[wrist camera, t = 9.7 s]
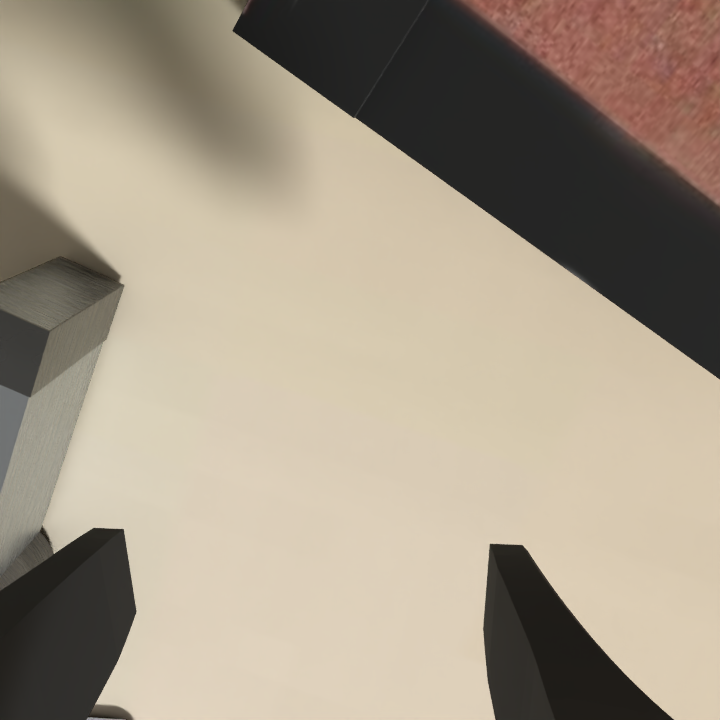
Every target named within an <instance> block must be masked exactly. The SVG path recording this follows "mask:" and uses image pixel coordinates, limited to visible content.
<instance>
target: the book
mask: <svg viewBox="0 0 720 720" xmlns="http://www.w3.org/2000/svg"><path fill="white" fill-rule="evenodd" d="M233 32H235V33H236V34H237V35H239V36H240V37H242V38H243V39H244V40H246V41H247V42H249V43H250V44H251V45H253V46H254V47H255V48H257V49H258V50H260V51H261V52H262V53H264V54H265V55H267V56H268V57H269V58H271V59H272V60H274V61H275V62H276V63H278V64H279V65H281V66H282V67H283V68H285V69H286V70H288V71H289V72H290V73H292V74H293V75H294V76H296V77H297V78H299V79H300V80H301V81H303V82H304V83H306V84H307V85H308V86H310V87H311V88H313V89H314V90H315V91H317V92H318V93H320V94H321V95H322V96H324V97H325V98H327V99H328V100H329V101H331V102H332V103H333V104H335V105H336V106H338V107H339V108H340V109H342V110H343V111H345V112H346V113H347V114H349V115H350V116H352V117H353V118H357V119H358V120H359V121H361V122H362V123H364V124H365V125H366V126H368V127H369V128H371V129H372V130H373V131H375V132H376V133H377V134H379V135H380V136H382V137H383V138H384V139H386V140H387V141H389V142H390V143H391V144H393V145H394V146H396V147H397V148H398V149H400V150H401V151H403V152H404V153H405V154H407V155H408V156H409V157H411V158H412V159H414V160H415V161H416V162H418V163H419V164H421V165H422V166H423V167H425V168H426V169H428V170H429V171H430V172H432V173H433V174H435V175H436V176H437V177H439V178H440V179H442V180H443V181H444V182H446V183H447V184H448V185H450V186H451V187H453V188H454V189H455V190H457V191H458V192H460V193H461V194H462V195H464V196H465V197H467V198H468V199H469V200H471V201H472V202H474V203H475V204H476V205H478V206H479V207H480V208H482V209H483V210H485V211H486V212H487V213H489V214H490V215H492V216H493V217H494V218H496V219H497V220H499V221H500V222H501V223H503V224H504V225H506V226H507V227H508V228H510V229H511V230H513V231H514V232H515V233H517V234H518V235H519V236H521V237H522V238H524V239H525V240H526V241H528V242H529V243H531V244H532V245H533V246H535V247H536V248H538V249H539V250H540V251H542V252H543V253H545V254H546V255H547V256H549V257H550V258H551V259H553V260H554V261H556V262H557V263H558V264H560V265H561V266H563V267H564V268H565V269H567V270H568V271H570V272H571V273H572V274H574V275H575V276H577V277H578V278H579V279H581V280H582V281H584V282H585V283H586V284H588V285H589V286H590V287H592V288H593V289H595V290H596V291H597V292H599V293H600V294H602V295H603V296H604V297H606V298H607V299H609V300H610V301H611V302H613V303H614V304H616V305H617V306H618V307H620V308H621V309H622V310H624V311H625V312H627V313H628V314H629V315H631V316H632V317H634V318H635V319H636V320H638V321H639V322H641V323H642V324H643V325H645V326H646V327H648V328H649V329H650V330H652V331H653V332H655V333H656V334H657V335H659V336H660V337H661V338H663V339H664V340H666V341H667V342H668V343H670V344H671V345H673V346H674V347H675V348H677V349H678V350H680V351H681V352H682V353H684V354H685V355H687V356H688V357H689V358H691V359H692V360H693V361H695V362H696V363H698V364H699V365H700V366H702V367H703V368H705V369H706V370H707V371H709V372H710V373H712V374H713V375H714V376H716V377H717V378H719V379H720V0H249V1H248V2H247V4H246V6H245V8H244V10H243V12H242V14H241V16H240V17H239V19H238V21H237V23H236V25H235V27H234V29H233Z"/></svg>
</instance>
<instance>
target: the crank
mask: <svg viewBox="0 0 720 720" xmlns="http://www.w3.org/2000/svg"><path fill="white" fill-rule="evenodd" d="M123 288H124V285H123V284H121V283H119V282H116V281H114V280H112V279H110V278H107V277H105V276H103V275H101V274H99V273H96V272H94V271H92V270H90V269H88V268H85V267H83V266H81V265H79V264H77V263H74V262H72V261H70V260H68V259H66V258H63V257H61V256H60V257H58V258H56V259H53V260H51V261H49V262H46V263H44V264H42V265H39V266H37V267H35V268H32V269H30V270H28V271H25V272H23V273H21V274H19V275H16V276H14V277H12V278H9V279H7V280H5V281H2V282H0V591H1V590H2V589H4V588H5V587H7V586H8V585H10V584H11V583H13V582H14V581H15V580H17V579H18V578H20V577H21V576H23V575H24V574H26V573H27V572H29V571H30V570H32V569H33V568H35V567H36V566H38V565H39V564H41V563H42V562H43V561H45V560H46V559H48V558H49V557H51V556H52V555H54V554H53V551H52V548H51V546H50V544H49V543H48V541H47V540H46V538H45V537H44V536H43V535H42V533H41V532H40V530H41V527H42V524H43V521H44V518H45V515H46V512H47V509H48V506H49V503H50V500H51V497H52V494H53V491H54V488H55V485H56V482H57V479H58V476H59V473H60V470H61V467H62V464H63V461H64V458H65V455H66V452H67V449H68V446H69V443H70V440H71V437H72V434H73V431H74V428H75V425H76V422H77V419H78V416H79V413H80V410H81V407H82V404H83V401H84V398H85V395H86V392H87V389H88V386H89V383H90V380H91V377H92V374H93V371H94V368H95V365H96V362H97V359H98V356H99V353H100V350H101V347H102V344H103V342H104V341H105V340H106V339H107V336H108V333H109V330H110V327H111V324H112V321H113V318H114V315H115V312H116V309H117V306H118V303H119V300H120V297H121V294H122V291H123Z"/></svg>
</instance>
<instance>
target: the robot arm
mask: <svg viewBox="0 0 720 720" xmlns="http://www.w3.org/2000/svg"><path fill="white" fill-rule="evenodd" d="M135 615H136V606H135V600H134V593H133V587H132V580H131V574H130V568H129V561H128V555H127V548H126V542H125V535H124V529H105V528H93V529H92V530H90V531H88V532H87V533H85V534H83V535H82V536H80V537H79V538H77V539H76V540H74V541H73V542H71V543H70V544H68V545H67V546H65V547H64V548H62V549H61V550H59V551H58V552H56V553H55V554H54V555H52V556H51V557H49V558H48V559H46V560H45V561H43V562H42V563H41V564H39V565H38V566H36V567H35V568H33V569H32V570H30V571H29V572H27V573H26V574H24V575H23V576H21V577H20V578H18V579H17V580H15V581H14V582H13V583H11V584H10V585H8V586H7V587H5V588H4V589H2V590H1V591H0V720H124V719H109V718H93V717H88V716H89V714H90V712H91V711H92V709H93V707H94V705H95V703H96V701H97V700H98V698H99V696H100V694H101V692H102V690H103V688H104V686H105V684H106V683H107V681H108V679H109V677H110V675H111V673H112V671H113V669H114V667H115V665H116V663H117V661H118V659H119V657H120V654H121V652H122V649H123V647H124V644H125V642H126V639H127V637H128V634H129V631H130V628H131V626H132V623H133V620H134V617H135ZM483 631H484V643H485V655H486V666H487V677H488V684H489V689H490V694H491V699H492V704H493V709H494V714H495V719H496V720H674V719H672V718H671V717H670V716H669V715H668V714H667V713H666V712H664V711H663V710H662V709H661V708H660V707H659V706H658V705H656V704H655V703H654V702H653V701H652V700H651V699H650V698H649V697H648V696H647V695H646V694H645V693H644V692H643V691H642V690H641V689H639V688H638V687H637V686H636V685H635V684H634V683H633V682H632V681H631V680H630V679H629V678H628V677H627V676H626V675H625V674H624V673H623V672H622V671H621V669H620V668H619V667H618V666H617V665H616V664H615V663H614V662H613V661H612V660H611V659H610V658H609V656H608V655H607V654H606V653H605V652H604V651H603V650H602V649H601V648H600V646H599V645H598V644H597V643H596V642H595V641H594V640H593V638H592V637H591V636H590V635H589V634H588V632H587V631H586V630H585V629H584V628H583V626H582V625H581V624H580V623H579V621H578V620H577V619H576V618H575V616H574V615H573V614H572V613H571V611H570V610H569V609H568V608H567V606H566V605H565V604H564V602H563V601H562V600H561V598H560V597H559V596H558V594H557V593H556V592H555V590H554V589H553V588H552V586H551V585H550V583H549V582H548V581H547V579H546V578H545V576H544V575H543V573H542V572H541V570H540V569H539V568H538V566H537V565H536V563H535V562H534V560H533V558H532V557H531V555H530V554H529V552H528V551H527V550H526V549H525V548H524V546H523V545H505V544H490V549H489V562H488V575H487V588H486V601H485V614H484V627H483Z"/></svg>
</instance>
